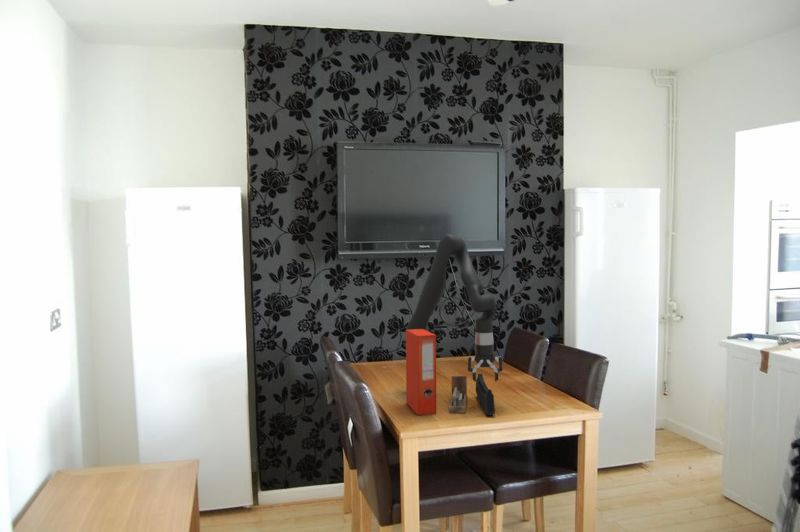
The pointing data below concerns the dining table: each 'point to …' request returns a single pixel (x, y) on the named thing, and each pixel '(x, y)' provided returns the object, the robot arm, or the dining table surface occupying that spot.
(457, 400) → the offcut stack
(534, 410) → the dining table surface
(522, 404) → the dining table surface
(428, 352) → the file binder
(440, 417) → the dining table surface
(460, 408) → the rack
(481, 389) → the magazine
